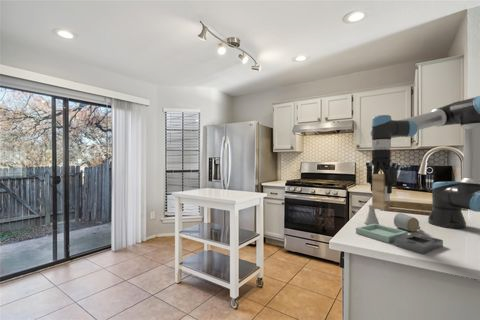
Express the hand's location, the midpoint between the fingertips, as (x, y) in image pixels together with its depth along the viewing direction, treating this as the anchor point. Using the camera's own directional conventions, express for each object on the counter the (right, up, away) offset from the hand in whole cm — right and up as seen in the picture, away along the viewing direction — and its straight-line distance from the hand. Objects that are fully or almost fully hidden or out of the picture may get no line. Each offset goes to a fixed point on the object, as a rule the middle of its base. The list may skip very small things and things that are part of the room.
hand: (380, 199), depth 107 cm
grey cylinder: (+19, -17, +9) cm, 27 cm away
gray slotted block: (+7, -17, -13) cm, 22 cm away
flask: (+6, -17, +18) cm, 25 cm away
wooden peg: (0, -4, 0) cm, 4 cm away
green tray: (0, -17, 0) cm, 17 cm away
